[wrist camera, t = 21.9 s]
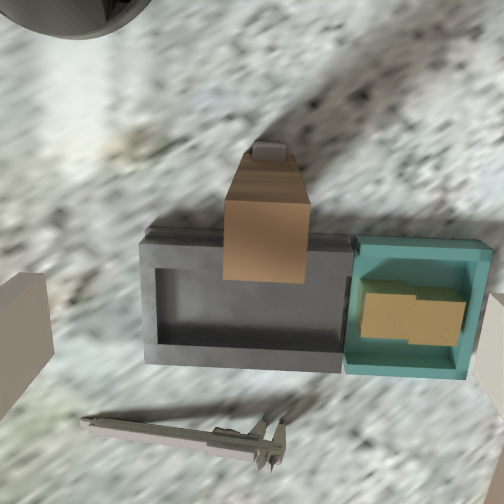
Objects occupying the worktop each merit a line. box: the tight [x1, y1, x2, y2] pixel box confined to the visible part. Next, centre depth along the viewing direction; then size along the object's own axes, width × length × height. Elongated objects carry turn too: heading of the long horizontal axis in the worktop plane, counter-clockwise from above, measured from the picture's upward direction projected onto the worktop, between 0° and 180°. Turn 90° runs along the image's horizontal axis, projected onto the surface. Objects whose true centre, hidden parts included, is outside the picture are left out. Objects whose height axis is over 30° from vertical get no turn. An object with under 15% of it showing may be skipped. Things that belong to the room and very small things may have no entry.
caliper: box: [80, 418, 286, 474], centre depth 44 cm, size 20×1×6 cm, turn 92°
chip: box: [354, 279, 416, 340], centre depth 40 cm, size 4×4×3 cm
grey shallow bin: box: [139, 227, 354, 373], centre depth 41 cm, size 12×17×3 cm
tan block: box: [406, 285, 466, 346], centre depth 40 cm, size 4×4×3 cm
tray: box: [342, 235, 493, 380], centre depth 41 cm, size 12×10×2 cm
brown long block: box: [223, 141, 311, 284], centre depth 31 cm, size 6×4×17 cm, turn 178°
